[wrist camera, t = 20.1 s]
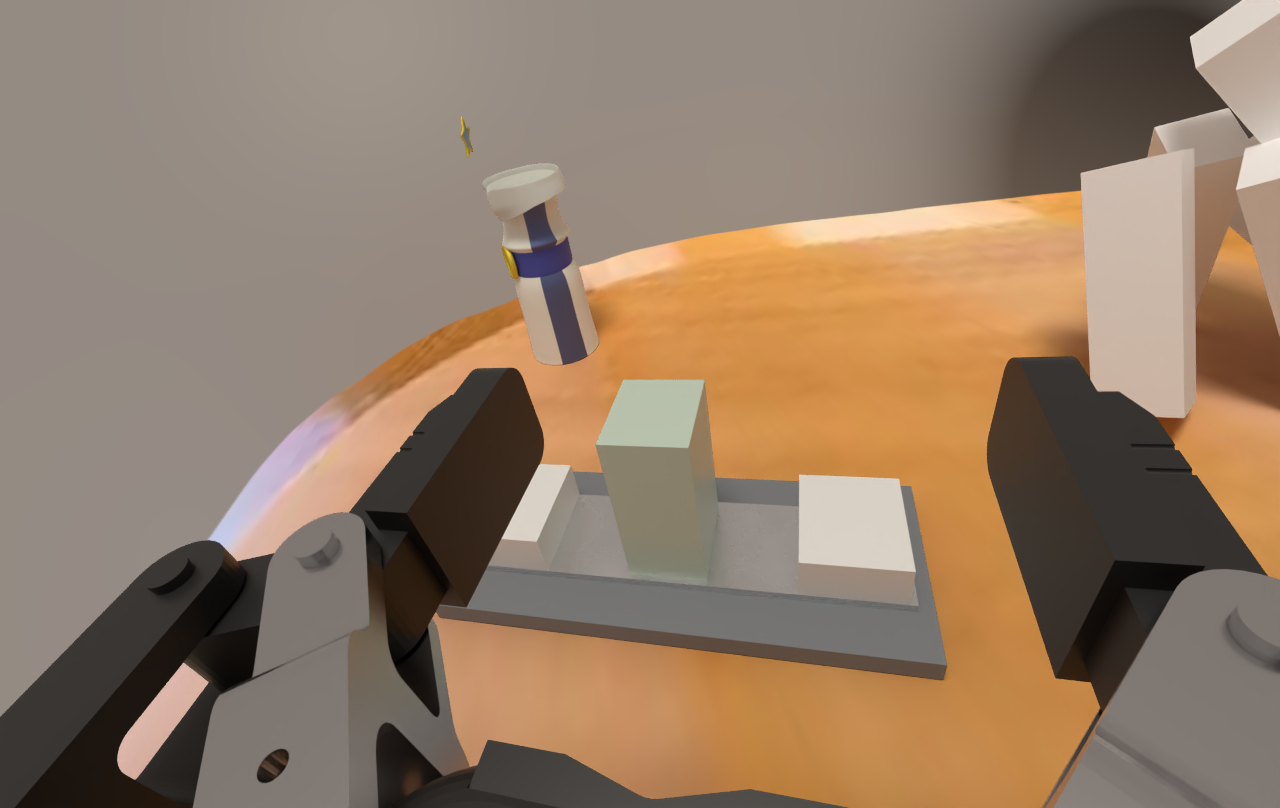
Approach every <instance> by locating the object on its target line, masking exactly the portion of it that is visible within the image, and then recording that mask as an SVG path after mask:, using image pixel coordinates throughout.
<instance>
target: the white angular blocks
mask: <svg viewBox="0 0 1280 808" xmlns="http://www.w3.org/2000/svg"><path fill="white" fill-rule="evenodd" d="M1190 40H1191V45H1192V50H1193V55H1194V61H1195V66H1196V69H1197V70H1198V71H1199V73H1200V74H1201V75H1202V76H1203V77H1204V78H1205V79H1206V81H1207V82H1208V83H1209V84H1210V85H1211V86H1212V87H1213V89H1214V90H1215V91H1216V92H1217V93H1218V94H1219V96H1220V97H1221V98H1222V99H1223V100H1224V101H1225V102H1226V104H1227V105H1228V106H1229V107H1230V108H1231V109H1232V111H1233V112H1234V113H1235V114H1236V115H1237V116H1238V117H1239V118H1240V120H1241V121H1242V122H1243V123H1244V124H1245V126H1246V127H1247V128H1248V129H1249V130H1250V131H1251V132H1252V133H1253V135H1254V136H1253V137H1251V138H1250V139H1248V137H1247V136H1246V134H1245V132H1244V131H1243V129H1242V128H1241V126H1240V125H1239V123H1238V122H1237V120H1236V119H1235V117H1234V115H1233V114H1232V112H1231V111H1230V109H1229V108H1227V109H1223V110H1219V111H1215V112H1211V113H1208V114H1204V115H1200V116H1196V117H1192V118H1189V119H1185V120H1181V121H1177V122H1173V123H1169V124H1165V125H1162V126H1158V127H1155V128H1154V131H1153V135H1152V140H1151V144H1150V149H1149V153H1148V157H1147V158H1145V159H1140V160H1136V161H1132V162H1127V163H1123V164H1119V165H1114V166H1110V167H1106V168H1101V169H1097V170H1092V171H1088V172H1084V173H1081V190H1082V211H1083V233H1084V254H1085V276H1086V297H1087V319H1088V340H1089V362H1090V380H1091V382H1092V383H1093V385H1094V386H1095V388H1096V390H1097V391H1119V392H1121V393H1122V394H1124V395H1125V396H1127V397H1128V398H1129V399H1131V400H1132V401H1134V402H1135V403H1137V404H1138V405H1140V406H1141V407H1143V408H1144V409H1146V410H1147V411H1149V412H1150V413H1151V414H1153V415H1154V416H1155V417H1168V418H1185V416H1186V415H1187V414H1188V412H1189V411H1190V409H1191V408H1192V406H1193V405H1194V403H1195V402H1196V309H1197V307H1198V304H1199V302H1200V299H1201V296H1202V294H1203V291H1204V289H1205V286H1206V283H1207V281H1208V278H1209V276H1210V273H1211V271H1212V268H1213V265H1214V263H1215V260H1216V258H1217V255H1218V253H1219V250H1220V247H1221V245H1222V242H1223V240H1224V237H1225V235H1226V232H1227V229H1228V227H1229V226H1230V227H1231V228H1232V229H1233V230H1235V231H1236V232H1237V233H1238V234H1239V235H1240V236H1242V237H1243V238H1244V239H1245V240H1246V241H1247V242H1249V243H1250V244H1251V245H1252V246H1253V249H1254V252H1255V256H1256V259H1257V262H1258V266H1259V269H1260V272H1261V276H1262V279H1263V282H1264V286H1265V289H1266V292H1267V296H1268V299H1269V302H1270V306H1271V309H1272V313H1273V316H1274V319H1275V323H1276V326H1277V329H1278V333H1279V336H1280V0H1242V1H1241V2H1239V3H1238V4H1236V5H1235V6H1234V7H1232V8H1231V9H1229V10H1228V11H1226V12H1225V13H1224V14H1222V15H1221V16H1220V17H1218V18H1217V19H1215V20H1214V21H1212V22H1211V23H1210V24H1208V25H1207V26H1205V27H1204V28H1202V29H1201V30H1199V31H1198V32H1197V33H1195V34H1194V35H1192V36H1191V37H1190Z"/></svg>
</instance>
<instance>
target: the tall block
mask: <svg viewBox="0 0 1280 808" xmlns="http://www.w3.org/2000/svg"><path fill="white" fill-rule="evenodd" d="M596 448H597V452H598V455H599V459H600V463H601V467H602V470H603V474H604V478H605V482H606V485H607V489H608V493H609V497H610V500H611V504H612V508H613V512H614V515H615V519H616V523H617V527H618V530H619V534H620V538H621V542H622V545H623V549H624V553H625V557H626V561H627V564H628V568H629V572H630V573H632V574H642V575H652V576H663V577H673V578H683V579H693V580H704V581H707V578H708V572H709V566H710V559H711V553H712V547H713V541H714V534H715V528H716V522H717V515H718V509H719V508H718V498H717V489H716V480H715V471H714V461H713V452H712V443H711V434H710V424H709V415H708V406H707V397H706V387H705V380H623V382H622V384H621V387H620V389H619V391H618V394H617V396H616V398H615V401H614V403H613V405H612V408H611V410H610V412H609V415H608V417H607V420H606V422H605V424H604V427H603V429H602V431H601V434H600V436H599V438H598V441H597V443H596Z"/></svg>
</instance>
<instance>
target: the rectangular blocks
mask: <svg viewBox="0 0 1280 808" xmlns="http://www.w3.org/2000/svg"><path fill="white" fill-rule="evenodd" d="M579 495H580V494H579V490H578V487H577V484H576V481H575V477H574V474H573V471H572V468H571V465H547V464H539V466H538V468H537V470H536V472H535V474H534V476H533V478H532V480H531V482H530V484H529V486H528V488H527V490H526V492H525V493H524V495H523V497H522V499H521V501H520V503H519V505H518V507H517V509H516V511H515V513H514V515H513V517H512V519H511V521H510V523H509V525H508V527H507V529H506V531H505V533H504V535H503V537H502V539H501V541H500V543H499V545H498V547H497V549H496V551H495V553H494V555H493V556H492V558H491V560H490V562H489V564H488V566H499V567H510V568H520V569H531V570H541V571H549V568H550V566H551V564H552V561H553V559H554V556H555V554H556V551H557V549H558V546H559V544H560V542H561V539H562V537H563V534H564V532H565V529H566V527H567V524H568V522H569V520H570V517H571V515H572V512H573V510H574V507H575V505H576V502H577V500H578V497H579ZM915 574H916V570H915V564H914V559H913V553H912V548H911V542H910V537H909V531H908V526H907V520H906V515H905V509H904V504H903V498H902V493H901V487H900V482H899V479H892V478H867V477H842V476H818V475H799V566H798V595H806V596H817V597H827V598H838V599H849V600H859V601H870V602H880V603H891V604H902V605H909V603H910V598H911V593H912V589H913V584H914V579H915Z"/></svg>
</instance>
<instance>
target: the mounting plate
mask: <svg viewBox="0 0 1280 808" xmlns="http://www.w3.org/2000/svg"><path fill="white" fill-rule="evenodd" d="M718 508H719V509H718V515H717V522H716V528H715V534H714V541H713V547H712V553H711V559H710V566H709V572H708V578H707V581H704V580H693V579H683V578H673V577H663V576H652V575H642V574H632V573H630V572H629V568H628V564H627V561H626V557H625V553H624V549H623V545H622V542H621V538H620V534H619V530H618V527H617V523H616V519H615V515H614V512H613V508H612V504H611V500H610V497H609V496H599V495H581V494H580V495H579V497H578V500H577V502H576V505H575V507H574V510H573V512H572V515H571V517H570V520H569V522H568V524H567V527H566V529H565V532H564V534H563V537H562V539H561V542H560V544H559V546H558V549H557V551H556V554H555V556H554V559H553V561H552V564H551V566H550V568H549V571H541V570H531V569H520V568H510V567H499V566H487V568H486V571H497V572H507V573H517V574H528V575H538V576H548V577H559V578H569V579H579V580H589V581H600V582H610V583H620V584H631V585H641V586H651V587H662V588H672V589H682V590H692V591H703V592H713V593H723V594H734V595H744V596H754V597H764V598H775V599H785V600H795V601H806V602H816V603H826V604H837V605H847V606H857V607H867V608H878V609H888V610H898V611H909V612H918V607H919V604H918V599H917V593H916V587H915V582H914V584H913V589H912V593H911V598H910V603H909V605H902V604H891V603H880V602H870V601H859V600H849V599H838V598H827V597H817V596H806V595H798V566H799V506H782V505H764V504H745V503H727V502H718Z"/></svg>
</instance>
